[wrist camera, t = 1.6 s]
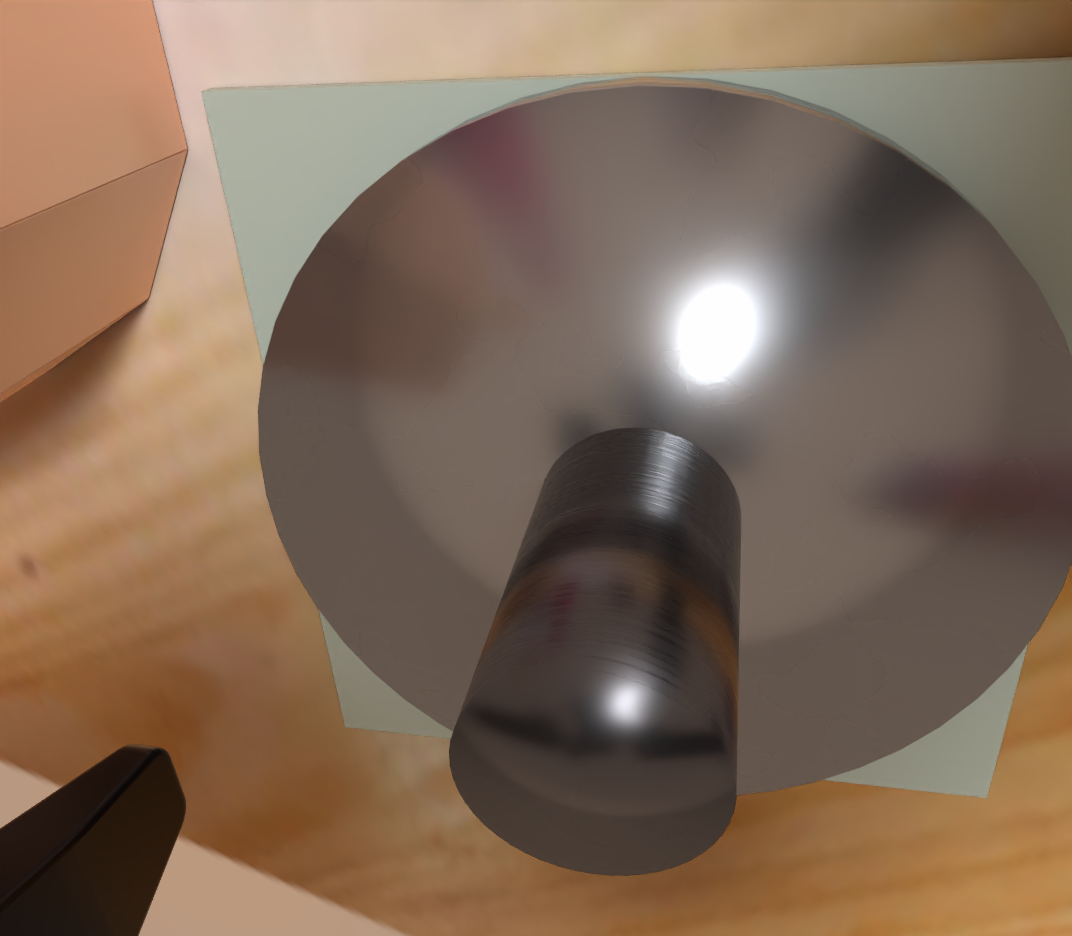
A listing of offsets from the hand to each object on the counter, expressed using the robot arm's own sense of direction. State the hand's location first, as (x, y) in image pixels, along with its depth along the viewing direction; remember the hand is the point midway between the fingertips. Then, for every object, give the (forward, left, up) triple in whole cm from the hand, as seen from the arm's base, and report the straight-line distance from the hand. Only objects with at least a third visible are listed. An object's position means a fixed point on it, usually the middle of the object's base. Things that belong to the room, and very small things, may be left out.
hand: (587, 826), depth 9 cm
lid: (0, 0, -6) cm, 6 cm away
